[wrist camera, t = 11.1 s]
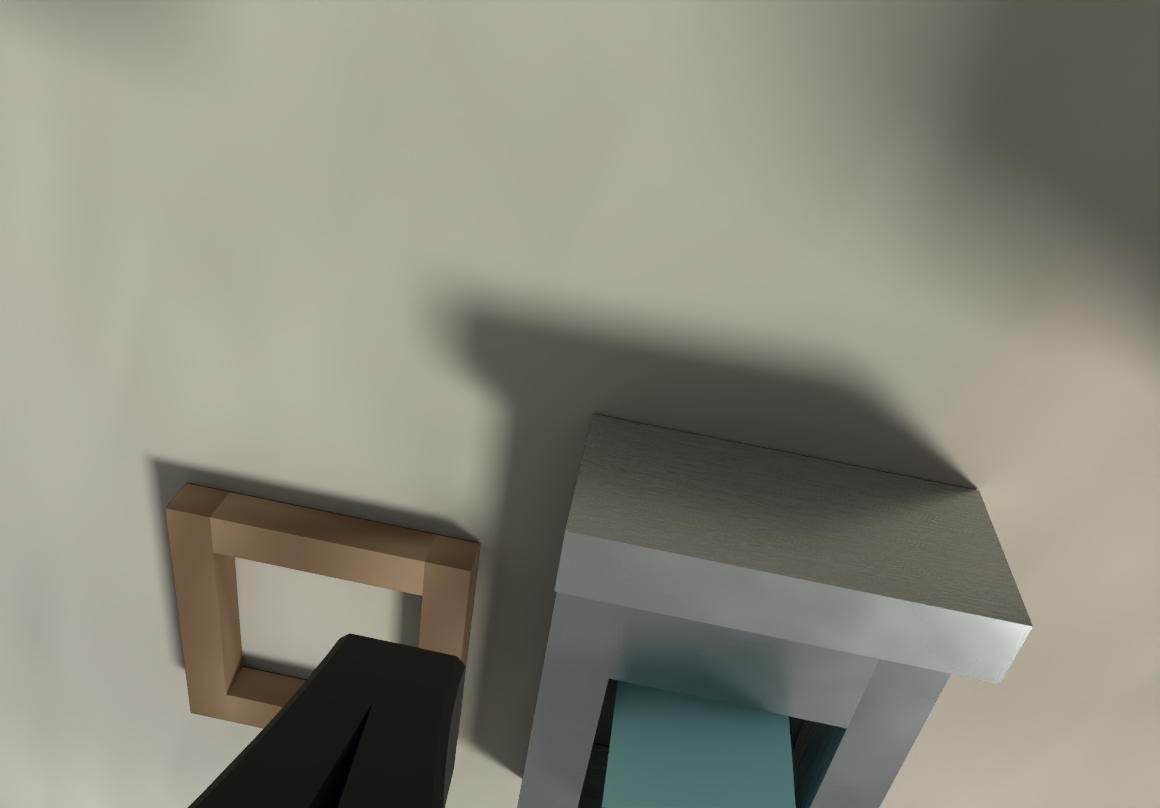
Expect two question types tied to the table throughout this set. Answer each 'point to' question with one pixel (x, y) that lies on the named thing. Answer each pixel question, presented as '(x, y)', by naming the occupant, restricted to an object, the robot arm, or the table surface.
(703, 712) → the plug
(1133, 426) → the table surface
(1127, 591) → the table surface
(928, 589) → the port
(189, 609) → the brown square frame
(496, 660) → the table surface
